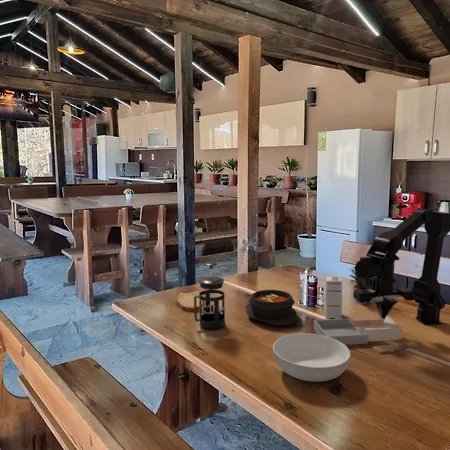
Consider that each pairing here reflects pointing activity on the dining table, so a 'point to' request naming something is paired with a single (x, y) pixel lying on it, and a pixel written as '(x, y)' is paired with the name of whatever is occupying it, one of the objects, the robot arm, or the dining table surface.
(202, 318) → the french press
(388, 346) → the wooden spatula
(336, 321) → the tray
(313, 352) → the serving bowl
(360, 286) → the house plant
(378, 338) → the white flat box
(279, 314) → the casserole
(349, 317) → the tile
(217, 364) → the dining table surface
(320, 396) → the dining table surface
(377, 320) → the tile
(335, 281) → the syrup box
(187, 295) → the bread slice
